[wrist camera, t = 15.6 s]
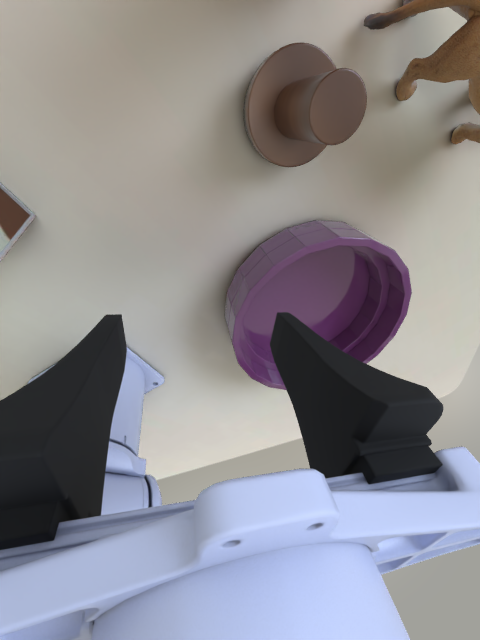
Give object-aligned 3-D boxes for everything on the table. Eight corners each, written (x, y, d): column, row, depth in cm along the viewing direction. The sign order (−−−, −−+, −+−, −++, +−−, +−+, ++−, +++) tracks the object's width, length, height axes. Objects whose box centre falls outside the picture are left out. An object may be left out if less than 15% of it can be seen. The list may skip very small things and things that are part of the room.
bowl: (267, 378, 32) (279, 410, 28) (190, 283, 23) (194, 313, 19) (389, 312, 30) (419, 339, 26) (358, 179, 21) (396, 191, 17)
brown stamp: (264, 179, 19) (302, 205, 14) (223, 89, 16) (251, 73, 10) (336, 131, 19) (408, 138, 13) (308, 25, 15) (389, -29, 10)
